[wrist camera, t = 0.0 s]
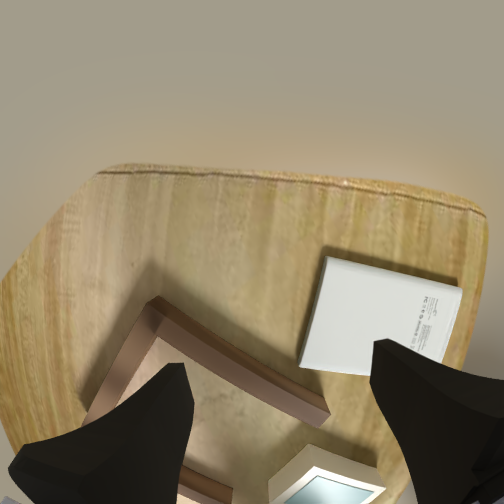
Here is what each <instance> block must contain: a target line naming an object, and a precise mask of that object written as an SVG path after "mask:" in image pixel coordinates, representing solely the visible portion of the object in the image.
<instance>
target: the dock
mask: <svg viewBox="0 0 504 504" xmlns="http://www.w3.org/2000/svg"><path fill="white" fill-rule="evenodd" d="M157 336H159V337H160V338H161V339H163V340H164V341H166V342H167V343H169V344H170V345H172V346H173V347H174V348H176V349H177V350H179V351H180V352H182V353H183V354H185V355H186V356H188V357H190V358H191V359H193V360H194V361H196V362H197V363H199V364H200V365H202V366H204V367H205V368H207V369H208V370H210V371H212V372H213V373H215V374H217V375H218V376H220V377H221V378H223V379H225V380H227V381H228V382H230V383H232V384H233V385H235V386H237V387H238V388H240V389H242V390H244V391H246V392H247V393H249V394H251V395H253V396H254V397H256V398H258V399H260V400H262V401H264V402H266V403H267V404H269V405H271V406H273V407H275V408H277V409H279V410H281V411H283V412H285V413H287V414H289V415H291V416H293V417H295V418H297V419H299V420H301V421H303V422H305V423H307V424H309V425H311V426H314V427H316V428H319V427H320V426H321V425H322V424H323V423H324V422H325V421H326V419H327V418H328V417H329V416H330V415H331V413H330V411H329V409H328V406H327V404H326V401H325V399H324V398H323V397H321V396H319V395H317V394H315V393H314V392H312V391H310V390H308V389H306V388H304V387H302V386H301V385H299V384H297V383H295V382H293V381H292V380H290V379H288V378H286V377H285V376H283V375H281V374H279V373H278V372H276V371H274V370H272V369H271V368H269V367H267V366H266V365H264V364H262V363H260V362H259V361H257V360H255V359H254V358H252V357H251V356H249V355H247V354H246V353H244V352H242V351H241V350H239V349H237V348H236V347H234V346H233V345H231V344H230V343H228V342H226V341H225V340H223V339H222V338H220V337H219V336H217V335H215V334H214V333H212V332H211V331H209V330H208V329H206V328H205V327H203V326H202V325H200V324H199V323H197V322H196V321H194V320H193V319H191V318H190V317H188V316H187V315H185V314H184V313H183V312H181V311H180V310H178V309H177V308H175V307H174V306H172V305H171V304H170V303H168V302H167V301H165V300H164V299H163V298H161V297H160V296H157V297H155V298H154V299H152V300H151V301H149V302H148V303H146V305H145V307H144V309H143V310H142V312H141V314H140V316H139V317H138V319H137V321H136V323H135V324H134V326H133V328H132V330H131V331H130V333H129V335H128V337H127V338H126V340H125V342H124V344H123V346H122V347H121V349H120V351H119V353H118V355H117V357H116V359H115V360H114V362H113V364H112V366H111V368H110V370H109V372H108V374H107V375H106V377H105V379H104V381H103V383H102V385H101V387H100V389H99V391H98V393H97V395H96V397H95V399H94V401H93V403H92V405H91V407H90V409H89V411H88V413H87V415H86V417H85V419H84V421H83V423H82V425H81V427H83V426H85V425H87V424H89V423H91V422H93V421H95V420H97V419H98V418H100V417H102V416H103V415H105V414H107V413H108V412H110V411H111V410H113V409H114V408H115V406H116V404H117V403H118V401H119V399H120V398H121V396H122V394H123V392H124V391H125V389H126V387H127V386H128V384H129V382H130V381H131V379H132V377H133V376H134V374H135V372H136V371H137V369H138V367H139V366H140V364H141V362H142V361H143V359H144V357H145V356H146V354H147V352H148V351H149V349H150V347H151V346H152V344H153V342H154V341H155V339H156V338H157ZM81 427H80V428H81ZM232 491H233V489H232V488H230V487H227V486H225V485H223V484H220V483H218V482H216V481H214V480H211V479H209V478H207V477H205V476H203V475H201V474H199V473H197V472H194V471H192V470H190V469H188V468H187V467H185V466H183V465H182V466H181V471H180V476H179V483H178V492H177V493H178V494H180V495H183V496H185V497H187V498H189V499H191V500H194V501H196V502H198V503H200V504H231V502H232Z"/></svg>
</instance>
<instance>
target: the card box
mask: <svg viewBox="0 0 504 504" xmlns="http://www.w3.org/2000/svg"><path fill="white" fill-rule="evenodd" d="M385 489H386V486H385V484H384V482H383V480H382V478H381V476H380V474H379V472H378V470H377V468H374V467H370V466H367V465H364V464H361V463H359V462H356V461H353V460H350V459H347V458H344V457H342V456H339V455H336V454H334V453H331V452H329V451H326V450H324V449H321V448H319V447H316V446H314V445H311V444H309V443H308V444H307V445H306V446H305V447H304V448H303V449H302V450H301V451H300V452H299V453H298V454H297V455H296V456H295V457H294V458H293V459H292V460H290V461H289V462H288V463H287V464H286V465H285V466H284V467H283V468H282V469H281V470H280V471H278V472H277V473H276V474H275V475H274V476H273V477H272V478H270V479H269V480H268V492H269V504H368V503H370V502H371V501H372V500H373V499H374V498H376V497H377V496H378V495H379V494H380V493H382V492H383V491H384V490H385Z"/></svg>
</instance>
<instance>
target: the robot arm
mask: <svg viewBox="0 0 504 504" xmlns="http://www.w3.org/2000/svg"><path fill="white" fill-rule="evenodd" d="M369 383H370V386H371V389H372V391H373V394H374V397H375V399H376V402H377V404H378V406H379V408H380V410H381V412H382V413H383V415H384V417H385V419H386V421H387V423H388V425H389V426H390V428H391V430H392V432H393V434H394V436H395V437H396V439H397V441H398V443H399V445H400V448H401V450H402V452H403V455H404V458H405V461H406V463H407V466H408V469H409V472H410V475H411V479H412V482H413V485H414V489H415V493H416V497H417V501H418V504H504V380H499V379H492V378H487V377H481V376H477V375H472V374H469V373H466V372H462V371H459V370H456V369H453V368H450V367H448V366H445V365H443V364H441V363H438V362H436V361H434V360H431V359H429V358H427V357H425V356H423V355H421V354H419V353H417V352H415V351H413V350H411V349H409V348H407V347H405V346H403V345H401V344H399V343H397V342H395V341H393V340H391V339H389V338H386V339H382V340H377V341H374V343H373V354H372V364H371V373H370V382H369ZM193 414H194V399H193V396H192V392H191V389H190V385H189V381H188V378H187V374H186V370H185V366H184V363H168V364H167V365H165V366H164V367H163V368H162V369H161V370H160V371H159V372H158V373H157V374H156V375H154V376H153V377H152V378H151V379H150V380H149V381H148V382H147V383H146V384H144V385H143V386H142V387H141V388H140V389H139V390H138V391H137V392H135V393H134V394H133V395H131V396H130V397H129V398H128V399H126V400H125V401H124V402H123V403H121V404H120V405H119V406H117V407H116V408H114V409H113V410H111V411H110V412H108V413H107V414H105V415H103V416H102V417H100V418H98V419H97V420H95V421H93V422H91V423H89V424H87V425H85V426H83V427H81V428H78V429H76V430H74V431H71V432H69V433H66V434H63V435H60V436H57V437H54V438H51V439H47V440H43V441H39V442H34V443H30V444H24V445H23V447H22V448H21V449H20V451H19V452H18V454H17V455H16V457H15V458H14V460H13V461H12V463H11V464H10V466H9V467H8V471H9V475H10V476H11V478H12V480H13V481H14V482H15V484H17V486H18V487H19V488H20V489H21V490H22V491H23V492H24V493H25V494H26V495H27V497H28V498H29V499H31V501H32V502H33V503H35V504H176V502H177V492H178V483H179V476H180V471H181V466H182V462H183V459H184V455H185V451H186V447H187V443H188V439H189V435H190V431H191V427H192V422H193ZM1 504H20V503H18V502H16V501H15V500H13V499H11V498H9V497H7V496H5V497H4V499H3V501H2V502H1Z"/></svg>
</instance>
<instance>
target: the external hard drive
mask: <svg viewBox="0 0 504 504" xmlns="http://www.w3.org/2000/svg"><path fill="white" fill-rule="evenodd" d="M461 297H462V288H460V287H456V286H452V285H448V284H444V283H440V282H436V281H432V280H428V279H424V278H420V277H415V276H411V275H407V274H403V273H399V272H394V271H390V270H386V269H382V268H377V267H373V266H369V265H365V264H360V263H356V262H351V261H347V260H343V259H338V258H334V257H329V256H325V259H324V263H323V268H322V272H321V276H320V280H319V284H318V289H317V293H316V297H315V301H314V304H313V308H312V312H311V316H310V320H309V323H308V327H307V331H306V334H305V338H304V342H303V345H302V348H301V352H300V355H299V359H298V362H297V363H298V365H299V367H302V368H310V369H316V370H324V371H332V372H340V373H348V374H358V375H368V376H370V373H371V364H372V354H373V343H374V341H377V340H382V339H386V338H389V339H391V340H393V341H395V342H397V343H399V344H401V345H403V346H405V347H407V348H409V349H411V350H413V351H415V352H417V353H419V354H421V355H423V356H425V357H427V358H429V359H431V360H434V361H436V362H438V363H441V362H442V359H443V356H444V353H445V350H446V347H447V344H448V341H449V338H450V336H451V332H452V329H453V326H454V323H455V319H456V316H457V312H458V309H459V305H460V301H461Z"/></svg>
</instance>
